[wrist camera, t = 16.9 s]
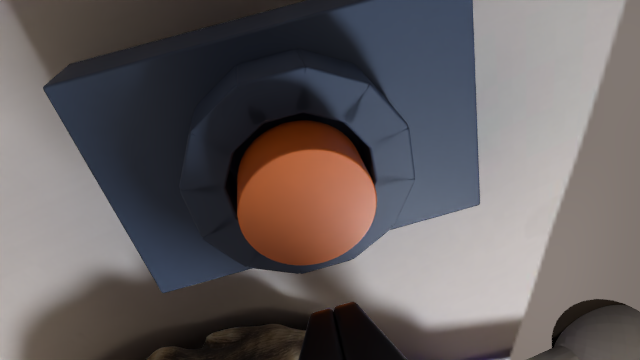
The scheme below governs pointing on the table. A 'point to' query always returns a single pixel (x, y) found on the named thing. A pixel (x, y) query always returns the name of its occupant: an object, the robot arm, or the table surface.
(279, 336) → the figurine
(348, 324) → the robot arm
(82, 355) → the table surface
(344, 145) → the orange push button
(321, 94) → the base
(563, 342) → the molecular model
